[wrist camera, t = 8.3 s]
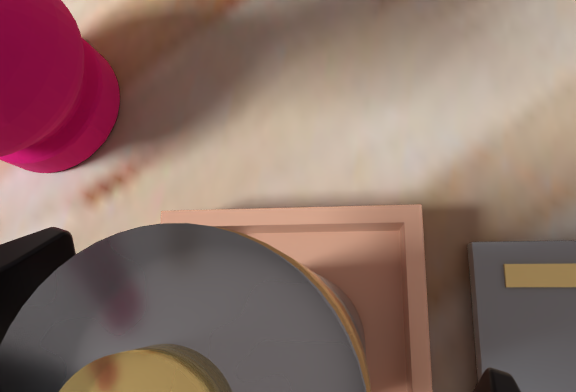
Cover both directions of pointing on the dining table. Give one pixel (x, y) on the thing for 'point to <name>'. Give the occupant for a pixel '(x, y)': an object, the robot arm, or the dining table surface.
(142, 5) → the dining table surface
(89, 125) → the pepper mill
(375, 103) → the dining table surface
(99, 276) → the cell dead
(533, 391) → the grey base plate
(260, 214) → the pink open tray
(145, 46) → the dining table surface
